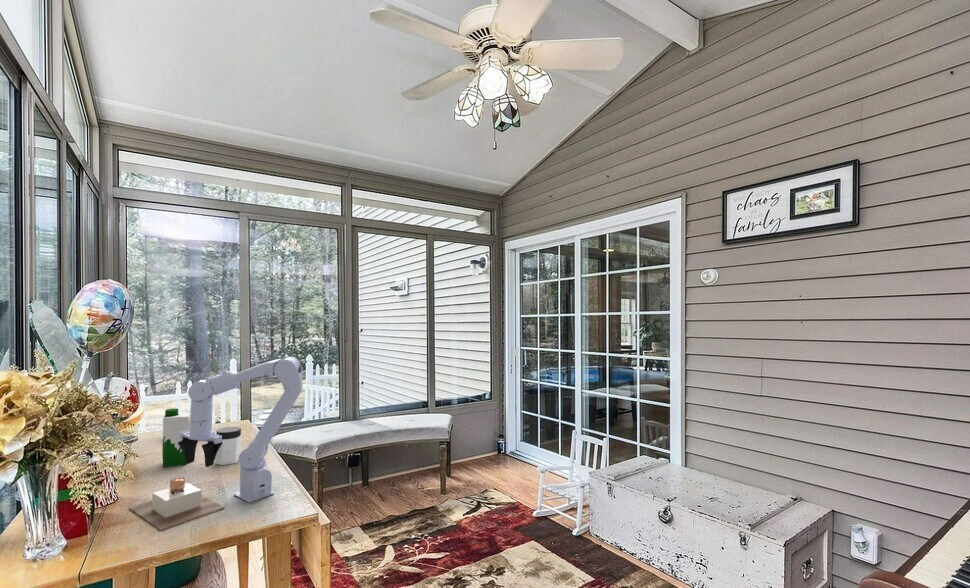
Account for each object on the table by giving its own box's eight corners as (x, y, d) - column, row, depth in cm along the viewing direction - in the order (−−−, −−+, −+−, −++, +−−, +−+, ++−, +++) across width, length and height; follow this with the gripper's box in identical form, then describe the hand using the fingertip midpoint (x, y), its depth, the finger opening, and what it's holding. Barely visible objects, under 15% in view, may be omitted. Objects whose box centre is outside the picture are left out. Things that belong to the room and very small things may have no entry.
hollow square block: (200, 505, 131) (201, 489, 131) (165, 517, 124) (165, 500, 124) (186, 497, 136) (187, 482, 137) (152, 508, 129) (152, 492, 129)
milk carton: (166, 460, 169) (167, 407, 169) (194, 457, 172) (195, 405, 173) (159, 468, 161) (160, 412, 161) (188, 465, 164) (190, 410, 165)
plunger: (186, 504, 131) (187, 479, 131) (172, 509, 128) (173, 483, 128) (180, 501, 133) (181, 476, 133) (167, 506, 130) (167, 480, 130)
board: (224, 508, 131) (224, 507, 131) (160, 531, 117) (160, 529, 117) (190, 490, 143) (190, 488, 143) (128, 508, 130) (128, 507, 130)
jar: (214, 467, 163) (215, 433, 163) (213, 460, 170) (214, 428, 170) (242, 462, 168) (243, 430, 168) (240, 456, 175) (241, 425, 175)
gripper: (230, 418, 139) (229, 462, 139) (194, 414, 143) (193, 457, 143) (211, 424, 133) (209, 470, 132) (173, 419, 137) (172, 464, 136)
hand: (199, 464), depth 137 cm, fingers open, 7 cm apart
